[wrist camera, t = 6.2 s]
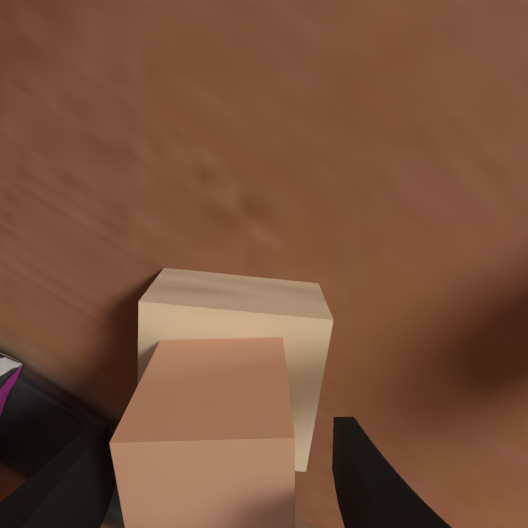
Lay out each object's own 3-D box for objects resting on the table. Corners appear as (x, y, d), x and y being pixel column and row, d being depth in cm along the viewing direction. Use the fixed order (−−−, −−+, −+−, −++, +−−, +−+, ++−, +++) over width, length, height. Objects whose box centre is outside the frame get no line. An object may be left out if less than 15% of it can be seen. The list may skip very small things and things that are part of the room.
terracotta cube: (284, 436, 15) (294, 568, 11) (172, 439, 15) (133, 573, 11) (282, 337, 14) (294, 437, 9) (159, 340, 14) (109, 442, 9)
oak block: (296, 408, 20) (305, 471, 16) (160, 396, 20) (136, 458, 16) (317, 281, 18) (333, 320, 14) (165, 266, 17) (138, 301, 14)
